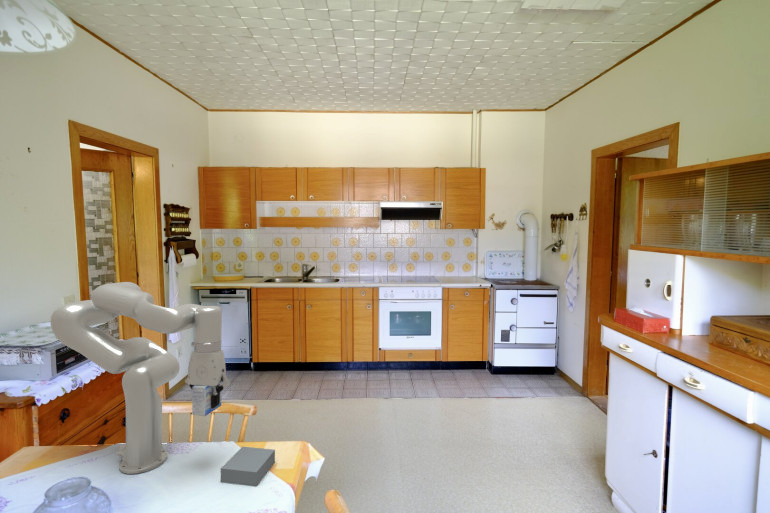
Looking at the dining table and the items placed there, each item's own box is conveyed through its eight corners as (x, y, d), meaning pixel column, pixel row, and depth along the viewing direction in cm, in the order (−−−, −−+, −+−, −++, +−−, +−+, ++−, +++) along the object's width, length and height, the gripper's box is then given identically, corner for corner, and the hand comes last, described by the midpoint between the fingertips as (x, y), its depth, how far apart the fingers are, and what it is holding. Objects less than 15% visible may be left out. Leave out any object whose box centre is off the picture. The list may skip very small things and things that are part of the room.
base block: (220, 482, 106) (220, 468, 106) (242, 458, 118) (242, 446, 117) (256, 486, 104) (256, 472, 104) (274, 462, 116) (275, 449, 116)
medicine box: (204, 416, 108) (205, 387, 108) (191, 415, 109) (191, 386, 109) (221, 406, 116) (222, 378, 116) (209, 404, 117) (209, 377, 117)
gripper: (174, 348, 110) (173, 408, 110) (226, 351, 107) (225, 413, 108) (190, 342, 117) (190, 398, 117) (240, 345, 115) (239, 403, 115)
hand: (207, 405), depth 112 cm, fingers closed on medicine box, 4 cm apart
